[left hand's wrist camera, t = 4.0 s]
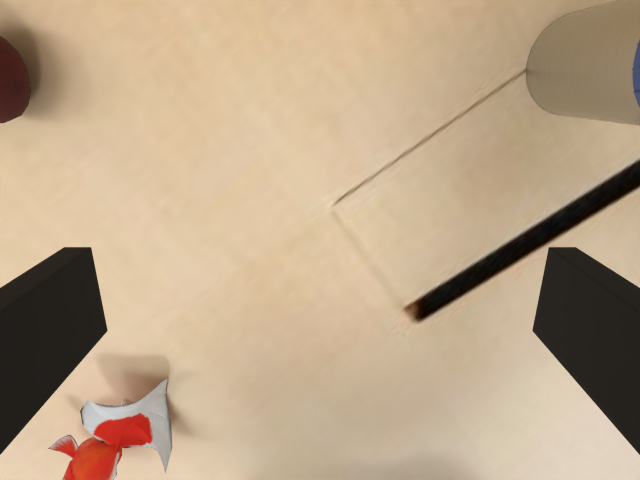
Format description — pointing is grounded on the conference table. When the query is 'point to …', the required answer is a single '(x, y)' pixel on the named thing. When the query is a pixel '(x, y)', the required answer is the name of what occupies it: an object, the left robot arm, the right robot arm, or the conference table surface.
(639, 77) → the lid
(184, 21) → the conference table surface
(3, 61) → the maroon ball
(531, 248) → the conference table surface
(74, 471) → the fish
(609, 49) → the jar
